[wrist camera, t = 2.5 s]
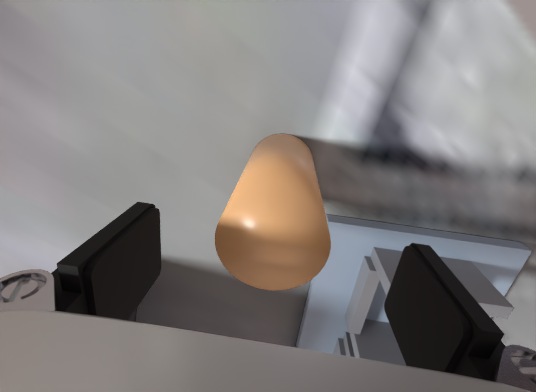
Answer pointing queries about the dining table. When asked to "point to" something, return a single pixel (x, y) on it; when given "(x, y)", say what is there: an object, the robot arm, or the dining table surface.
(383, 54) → the dining table surface
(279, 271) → the tan capsule rod
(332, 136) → the dining table surface
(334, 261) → the housing
